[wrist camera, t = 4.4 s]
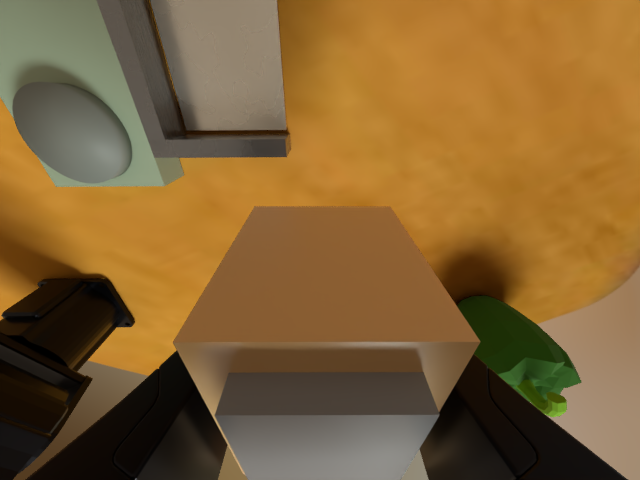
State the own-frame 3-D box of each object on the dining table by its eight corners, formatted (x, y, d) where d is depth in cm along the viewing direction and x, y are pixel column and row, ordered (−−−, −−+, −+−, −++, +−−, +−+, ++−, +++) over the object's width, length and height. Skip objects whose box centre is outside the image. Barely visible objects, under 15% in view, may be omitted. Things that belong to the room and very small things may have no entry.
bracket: (290, 149, 16) (286, 156, 14) (176, 149, 16) (154, 157, 14) (274, -94, 10) (263, -143, 8) (100, -93, 11) (44, -141, 8)
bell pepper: (488, 339, 27) (566, 449, 19) (422, 333, 27) (471, 444, 18) (532, 287, 23) (658, 399, 14) (454, 279, 22) (538, 390, 14)
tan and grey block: (369, 325, 11) (409, 506, 6) (273, 325, 11) (237, 506, 6) (390, 206, 8) (509, 384, 3) (254, 206, 8) (146, 386, 3)
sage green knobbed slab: (184, 175, 17) (155, 191, 14) (89, 175, 17) (39, 192, 14) (79, -160, 10) (-30, -277, 7) (-88, -159, 10) (-273, -276, 7)
